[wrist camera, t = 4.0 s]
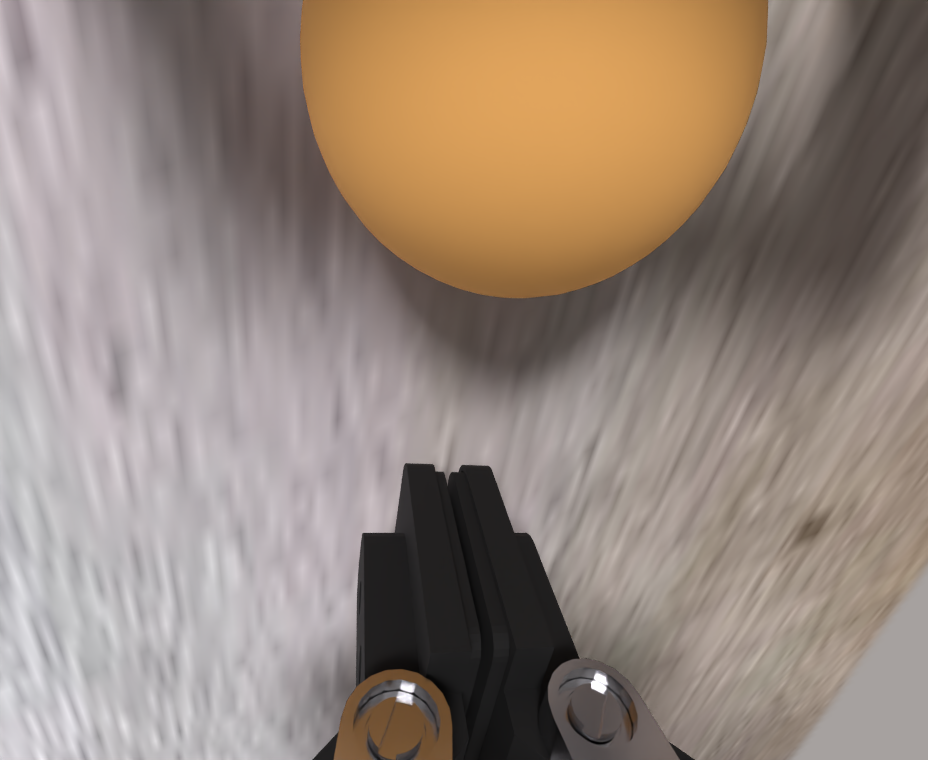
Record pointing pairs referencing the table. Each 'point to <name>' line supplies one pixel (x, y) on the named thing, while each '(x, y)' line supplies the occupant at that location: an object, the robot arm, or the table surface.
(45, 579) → the table surface
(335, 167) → the ball
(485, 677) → the robot arm
